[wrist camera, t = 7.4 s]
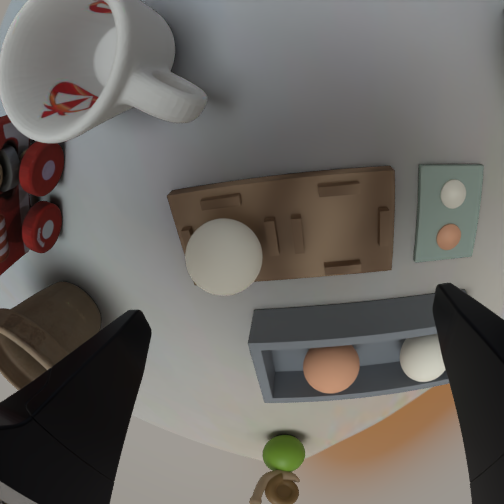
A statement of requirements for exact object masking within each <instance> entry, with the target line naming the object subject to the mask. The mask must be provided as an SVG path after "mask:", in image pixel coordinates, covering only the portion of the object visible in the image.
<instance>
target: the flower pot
mask: <svg viewBox="0 0 504 504" xmlns="http://www.w3.org/2000/svg"><path fill="white" fill-rule="evenodd" d="M100 326H101V315H100V312H99V310H98V308H97V306H96V304H95V303H94V301H93V300H92V299H91V297H90V296H89V295H88V294H87V293H86V292H85V291H83V290H82V289H81V288H79V287H77V286H76V285H74V284H71V283H68V282H57V283H55V284H53V285H51V286H49V287H47V288H45V289H43V290H41V291H39V292H38V293H36V294H34V295H33V296H31V297H29V298H28V299H26V300H25V301H23V302H22V303H20V304H18V305H17V306H15V307H14V308H12V309H4V308H2V309H0V372H1V374H2V375H3V376H4V377H5V378H6V379H7V380H8V381H9V382H10V383H11V384H12V385H13V386H14V387H15V388H16V389H17V390H20V389H22V388H23V387H25V386H26V385H28V384H29V383H30V382H32V381H33V380H35V379H36V378H37V377H39V376H40V375H42V374H43V373H44V372H46V371H47V370H48V369H49V368H52V366H54V365H55V364H56V363H58V362H59V361H60V360H62V359H63V358H64V357H66V356H67V355H68V354H70V353H71V352H72V351H74V350H75V349H76V348H78V347H79V346H80V345H82V344H83V343H84V342H86V341H87V340H88V339H90V338H91V337H92V336H94V335H95V334H97V333H98V332H99V330H100Z"/></svg>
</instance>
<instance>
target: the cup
mask: <svg viewBox="0 0 504 504" xmlns="http://www.w3.org/2000/svg"><path fill="white" fill-rule="evenodd" d="M174 57H175V42H174V37H173V34H172V31H171V29H170V27H169V25H168V24H167V23H166V21H165V20H164V19H163V18H162V17H161V16H160V15H159V14H158V13H157V12H156V11H154V10H153V9H151V8H150V7H148V6H147V5H146V4H144V3H143V2H141V1H139V0H28V1H27V2H26V3H25V4H24V6H23V7H22V8H21V9H20V11H19V12H18V14H17V15H16V17H15V18H14V20H13V22H12V24H11V25H10V27H9V30H8V32H7V34H6V37H5V39H4V42H3V46H2V50H1V54H0V97H1V101H2V104H3V107H4V109H5V111H6V114H7V116H8V118H9V119H10V120H11V122H12V123H13V125H14V126H15V127H16V128H17V129H18V130H19V131H20V132H21V133H22V134H24V135H25V136H27V137H28V138H30V139H32V140H35V141H38V142H42V143H60V142H64V141H68V140H71V139H73V138H76V137H78V136H80V135H81V134H83V133H85V132H87V131H89V130H90V129H92V128H94V127H96V126H98V125H100V124H101V123H103V122H105V121H107V120H109V119H111V118H113V117H115V116H117V115H119V114H121V113H123V112H125V111H127V110H129V109H131V108H133V107H134V108H137V109H139V110H141V111H143V112H145V113H147V114H149V115H152V116H154V117H157V118H159V119H162V120H165V121H168V122H173V123H188V122H191V121H193V120H195V119H196V118H197V117H199V115H200V114H201V112H202V111H203V109H204V108H205V106H206V103H207V95H206V93H205V92H204V91H203V90H202V89H201V88H199V87H198V86H196V85H194V84H193V83H191V82H189V81H188V80H186V79H184V78H182V77H180V76H178V75H176V74H174V73H172V72H171V69H172V66H173V62H174Z"/></svg>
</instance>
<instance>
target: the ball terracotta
mask: <svg viewBox="0 0 504 504" xmlns="http://www.w3.org/2000/svg"><path fill="white" fill-rule="evenodd" d="M359 368H360V361H359V356H358V354H357V352H356V350H355V349H354V347H353V346H352V345H345V346H334V347H321V348H310V349H309V350H308V352H307V354H306V356H305V358H304V362H303V372H304V376H305V378H306V380H307V382H308V383H309V384H310V385H311V386H312V387H313V388H314V389H316V390H317V391H320V392H323V393H338V392H341V391H343V390H345V389H346V388H348V387H349V386H350V385H351V384H352V383H353V382H354V381H355V379H356V377H357V375H358V372H359Z"/></svg>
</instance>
